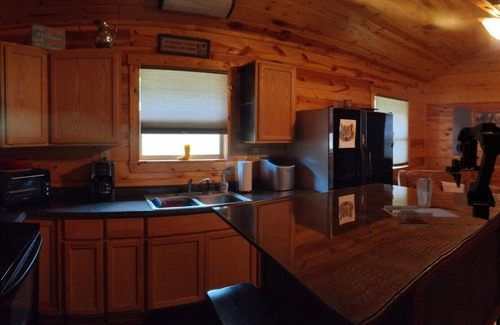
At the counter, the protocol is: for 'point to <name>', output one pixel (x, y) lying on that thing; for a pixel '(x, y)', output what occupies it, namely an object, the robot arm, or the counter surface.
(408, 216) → the walnut block
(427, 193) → the beer glass
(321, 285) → the counter surface
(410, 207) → the board
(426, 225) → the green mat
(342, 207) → the counter surface
